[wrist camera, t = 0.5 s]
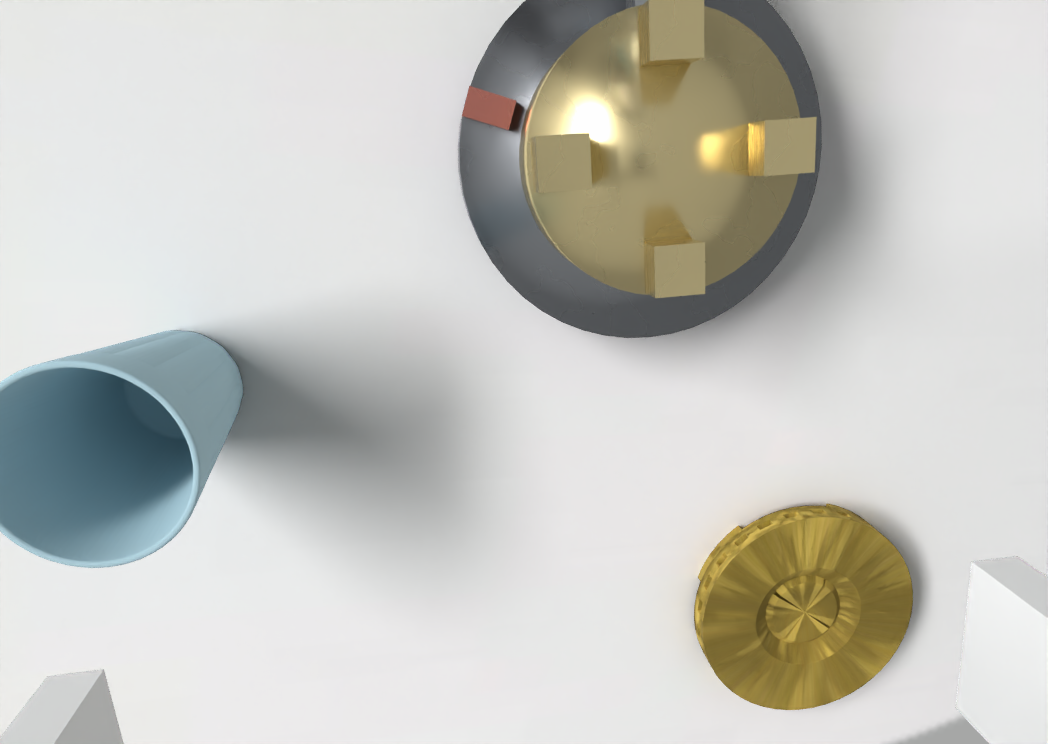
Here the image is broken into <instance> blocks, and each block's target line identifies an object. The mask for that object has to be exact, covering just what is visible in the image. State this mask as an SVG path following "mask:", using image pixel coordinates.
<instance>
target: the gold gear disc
mask: <svg viewBox="0 0 1048 744" xmlns="http://www.w3.org/2000/svg"><path fill="white" fill-rule="evenodd" d="M698 578H699V580H700V581H701V582H700V585H699V588H698V591H697V595H696V600H695V608H694V621H695V630H696V634H697V638H698V641H699V643H700V646H701V648H702V650H703V652H704V654H705V656H706V658H707V660H708V662H709V663H710V665H711V667H712V669H713V670H714V672H715V674H716V675H717V676H718V678H719V679H720V680H721V681H722V682H723V684H724V685H725V686H726V687H728V688H729V689H730V690H731V691H732V692H734V693H735V694H737V695H738V696H740V697H741V698H743V699H745V700H747V701H749V702H751V703H754V704H757V705H760V706H763V707H767V708H773V709H781V710H799V709H807V708H813V707H817V706H821V705H825V704H828V703H831V702H833V701H836V700H838V699H841V698H843V697H845V696H847V695H849V694H851V693H852V692H854V691H855V690H857V689H859V688H860V687H862V686H863V685H864V684H866V683H867V682H868V681H869V680H871V679H872V678H873V677H874V676H875V675H876V674H877V673H878V672H879V671H881V670H882V668H883V667H884V666H885V665H886V664H887V663H888V661H889V660H890V659H891V658H892V656H893V655H894V653H895V652H896V650H897V649H898V647H899V645H900V643H901V641H902V640H903V638H904V635H905V633H906V630H907V628H908V624H909V621H910V617H911V612H912V604H913V589H912V583H911V578H910V574H909V571H908V568H907V566H906V564H905V561H904V559H903V557H902V556H901V554H900V553H899V552H898V550H897V549H896V547H895V546H894V545H893V544H892V543H891V542H890V541H889V540H888V539H887V538H886V537H884V536H883V535H882V534H881V533H880V532H878V531H877V530H876V529H875V528H874V527H872V526H871V525H870V524H869V523H867V522H866V521H865V520H864V519H862V518H861V517H860V516H858V515H856V514H854V513H853V512H851V511H849V510H846V509H844V508H841V507H839V506H835V505H831V504H826V506H800V507H792V508H788V509H784V510H780V511H777V512H774V513H771V514H769V515H766V516H764V517H762V518H760V519H758V520H756V521H754V522H752V523H751V524H749V525H748V526H746V527H745V528H743V529H741V528H740V527H739V526H737V527H736V528H735V529H733V530H732V531H731V532H730V533H729V534H727V535H726V536H725V537H724V538H723V539H722V541H721V542H720V543H719V544H718V545H717V546H716V547H715V549H714V550H713V551H712V552H711V554H710V555H709V557H708V558H707V560H706V562H705V563H704V565H703V567H702V569H701V571H700V573H699V576H698Z"/></svg>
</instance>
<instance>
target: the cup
mask: <svg viewBox="0 0 1048 744" xmlns="http://www.w3.org/2000/svg"><path fill="white" fill-rule="evenodd" d="M242 396H243V384H242V380H241V376H240V371H239V369H238V366H237V365H236V363H235V361H234V360H233V359H232V357H231V356H230V355H229V354H228V352H227V351H226V350H225V349H224V348H223V347H222V346H221V345H219V344H218V343H216V342H215V341H213V340H211V339H209V338H207V337H206V336H204V335H201V334H199V333H195V332H188V331H178V330H171V331H165V332H161V333H157V334H153V335H149V336H145V337H142V338H138V339H134V340H130V341H126V342H123V343H119V344H115V345H111V346H108V347H104V348H100V349H96V350H93V351H89V352H85V353H81V354H76V355H72V356H67V357H64V358H60V359H56V360H52V361H48V362H44V363H41V364H37V365H33V366H31V367H28V368H25V369H23V370H21V371H18V372H16V373H14V374H13V375H11V376H9V377H8V378H6V379H4V380H3V381H1V382H0V532H1V533H3V534H4V535H5V536H6V537H7V538H9V539H10V540H11V541H13V542H14V543H16V544H17V545H19V546H20V547H22V548H24V549H25V550H27V551H29V552H31V553H33V554H35V555H37V556H39V557H42V558H44V559H47V560H50V561H53V562H57V563H61V564H65V565H70V566H77V567H87V568H101V567H111V566H118V565H123V564H127V563H130V562H133V561H136V560H139V559H142V558H144V557H146V556H148V555H150V554H152V553H154V552H156V551H157V550H159V549H160V548H162V547H163V546H164V545H166V544H167V543H168V542H169V541H171V540H172V539H173V538H174V537H175V536H176V535H177V534H178V533H179V532H180V530H181V529H182V528H183V527H184V525H185V524H186V522H187V521H188V519H189V518H190V516H191V514H192V512H193V510H194V508H195V506H196V503H197V501H198V499H199V497H200V495H201V493H202V490H203V488H204V486H205V484H206V481H207V479H208V477H209V475H210V473H211V470H212V468H213V466H214V464H215V462H216V460H217V457H218V455H219V453H220V451H221V449H222V447H223V444H224V442H225V440H226V438H227V436H228V434H229V431H230V429H231V427H232V425H233V422H234V420H235V418H236V416H237V413H238V411H239V408H240V403H241V399H242Z"/></svg>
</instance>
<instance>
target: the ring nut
mask: <svg viewBox="0 0 1048 744" xmlns="http://www.w3.org/2000/svg"><path fill="white" fill-rule="evenodd" d="M816 120H817V117H809V118H800V114H799V108H798V104H797V101H796V97H795V94H794V90H793V88H792V86H791V83H790V81H789V79H788V76H787V74H786V72H785V70H784V69H783V67H782V65H781V64H780V62H779V60H778V59H777V57H776V56H775V54H774V53H773V52H772V51H771V50H770V48H769V47H768V46H767V45H766V43H765V42H764V41H763V40H762V39H761V38H760V37H759V36H757V35H756V34H755V33H754V32H753V31H752V30H751V29H750V28H748V27H747V26H745V25H744V24H742V23H741V22H740V21H738V20H737V19H735V18H733V17H731V16H729V15H727V14H725V13H723V12H721V11H719V10H716V9H713V8H710V7H707V6H704V0H626V9H625V10H623V11H621V12H618V13H616V14H614V15H612V16H609V17H607V18H606V19H604V20H603V21H601V22H599V23H598V24H596V25H594V26H593V27H591V28H590V29H589V30H588V31H587V32H585V33H584V34H583V35H582V36H580V37H579V38H578V39H577V40H576V41H575V42H574V43H573V44H572V45H571V46H570V47H569V48H568V49H567V50H566V51H565V52H564V53H563V54H562V55H561V56H560V57H559V58H558V59H557V60H556V61H555V62H554V63H553V64H552V65H551V67H550V68H549V70H548V71H547V72H546V74H545V75H544V77H543V78H542V79H541V81H540V83H539V85H538V86H537V88H536V90H535V92H534V94H533V96H532V98H531V101H530V103H529V106H528V108H527V111H526V114H525V118H524V122H523V126H522V130H521V137H520V146H519V168H520V176H521V183H522V187H523V191H524V195H525V199H526V202H527V204H528V207H529V209H530V212H531V214H532V216H533V218H534V220H535V222H536V224H537V225H538V227H539V229H540V231H541V232H542V233H543V235H544V236H545V237H546V239H547V240H548V241H549V243H550V244H551V245H552V246H553V247H554V248H555V249H556V250H557V251H558V252H559V253H560V254H561V255H562V256H563V257H565V258H566V259H567V260H568V261H570V262H571V263H572V264H574V265H575V266H576V267H578V268H579V269H581V270H582V271H584V272H585V273H586V274H588V275H590V276H591V277H593V278H595V279H597V280H598V281H600V282H602V283H604V284H607V285H609V286H611V287H614V288H616V289H619V290H623V291H627V292H631V293H635V294H644V295H651V296H652V297H654V298H665V297H676V296H687V295H698V294H705V286H708V285H710V284H712V283H714V282H717V281H719V280H721V279H722V278H724V277H726V276H727V275H729V274H731V273H732V272H734V271H735V270H737V269H738V268H739V267H741V266H742V265H743V264H745V263H746V262H747V261H748V260H749V259H750V258H751V257H752V256H754V255H755V254H756V253H757V252H758V251H759V250H760V249H761V248H762V246H763V245H764V244H765V243H766V241H767V240H768V239H769V238H770V236H771V235H772V234H773V232H774V231H775V229H776V228H777V226H778V224H779V223H780V221H781V220H782V218H783V216H784V214H785V212H786V209H787V207H788V205H789V203H790V201H791V198H792V195H793V192H794V189H795V186H796V183H797V179H798V174H799V173H812V172H815V148H816Z"/></svg>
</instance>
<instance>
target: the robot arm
mask: <svg viewBox="0 0 1048 744" xmlns="http://www.w3.org/2000/svg"><path fill="white" fill-rule="evenodd" d="M956 709H957V710H958V711H959V712H960V713H961V714H962V715H963V716H964V717H965V718H966V719H967V721H968V722H969V723H970V724H971V725H972V726H973V727H974V728H975V729H976V730H977V731H978V732H979V733H980V734H981V735H982V736H983V737H984V738H985V739H986V740H987V742H988V743H989V744H1048V577H1047V576H1046V575H1045V574H1043V573H1042V572H1040V571H1039V570H1037V569H1036V568H1034V567H1033V566H1031V565H1030V564H1028V563H1027V562H1025V561H1024V560H1022V559H1021V558H1019V557H1018V556H1013V557H1005V558H997V559H989V560H981V561H973V562H972V563H971V572H970V581H969V590H968V599H967V608H966V617H965V626H964V636H963V645H962V654H961V663H960V672H959V681H958V690H957V699H956ZM0 744H124V743H123V740H122V736H121V732H120V728H119V725H118V721H117V717H116V713H115V710H114V706H113V702H112V698H111V695H110V691H109V687H108V683H107V679H106V676H105V672H104V669H102V670H94V671H86V672H78V673H70V674H62V675H54V676H47V678H46V679H45V680H44V681H43V683H42V684H41V685H40V687H39V688H38V689H37V691H36V692H35V693H34V694H33V696H32V697H31V698H30V700H29V701H28V702H27V703H26V705H25V706H24V707H23V709H22V710H21V711H20V713H19V714H18V715H17V716H16V718H15V719H14V720H13V722H12V723H11V724H10V725H9V727H8V728H7V729H6V731H5V732H4V733H3V735H2V736H1V737H0Z"/></svg>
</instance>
